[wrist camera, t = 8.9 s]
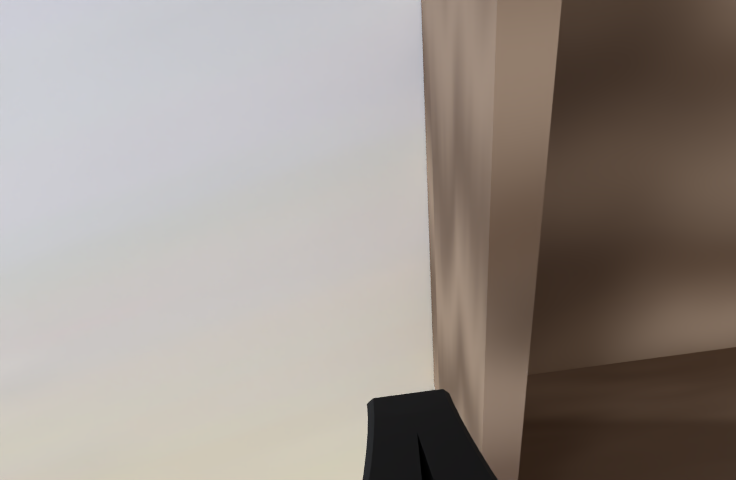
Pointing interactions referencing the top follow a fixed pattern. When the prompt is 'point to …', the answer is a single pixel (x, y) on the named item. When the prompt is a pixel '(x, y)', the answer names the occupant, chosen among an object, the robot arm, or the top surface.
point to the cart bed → (585, 233)
